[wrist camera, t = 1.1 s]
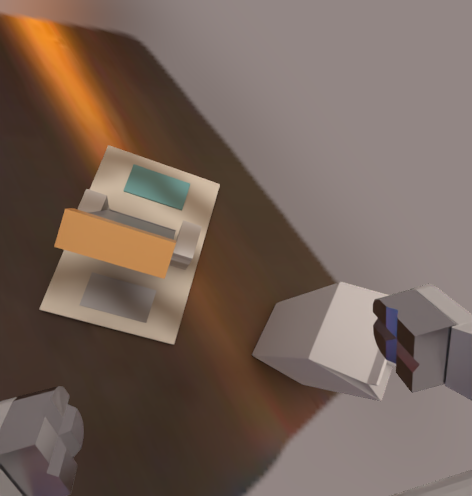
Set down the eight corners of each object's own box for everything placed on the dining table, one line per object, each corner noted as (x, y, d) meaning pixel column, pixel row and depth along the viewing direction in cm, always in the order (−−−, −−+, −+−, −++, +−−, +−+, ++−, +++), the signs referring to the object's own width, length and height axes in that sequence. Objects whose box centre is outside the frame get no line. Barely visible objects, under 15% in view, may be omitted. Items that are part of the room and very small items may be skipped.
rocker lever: (171, 250, 39) (164, 279, 25) (102, 229, 37) (54, 246, 23) (178, 227, 38) (175, 243, 24) (109, 205, 37) (65, 208, 23)
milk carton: (250, 355, 42) (334, 360, 24) (276, 302, 44) (368, 271, 27) (301, 384, 43) (419, 410, 25) (323, 330, 45) (444, 319, 27)
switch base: (172, 344, 40) (179, 343, 33) (42, 310, 37) (23, 302, 31) (217, 189, 46) (230, 163, 40) (109, 151, 44) (104, 117, 37)
